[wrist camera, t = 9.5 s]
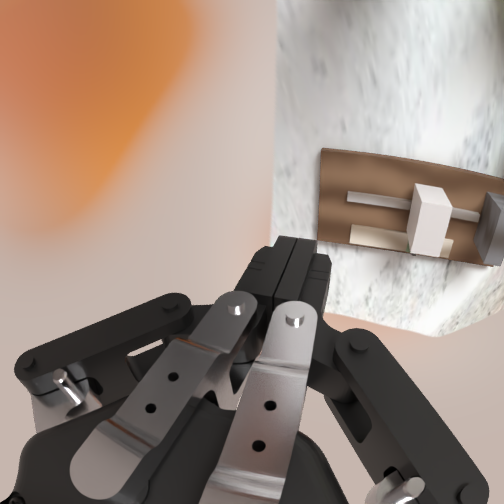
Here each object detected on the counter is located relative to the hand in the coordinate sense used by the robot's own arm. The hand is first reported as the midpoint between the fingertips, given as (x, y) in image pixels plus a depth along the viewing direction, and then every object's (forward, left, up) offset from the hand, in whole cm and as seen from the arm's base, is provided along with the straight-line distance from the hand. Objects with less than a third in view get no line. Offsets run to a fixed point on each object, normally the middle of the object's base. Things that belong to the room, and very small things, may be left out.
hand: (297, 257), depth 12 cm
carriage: (+12, +12, -30) cm, 34 cm away
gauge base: (+11, +12, -32) cm, 36 cm away
